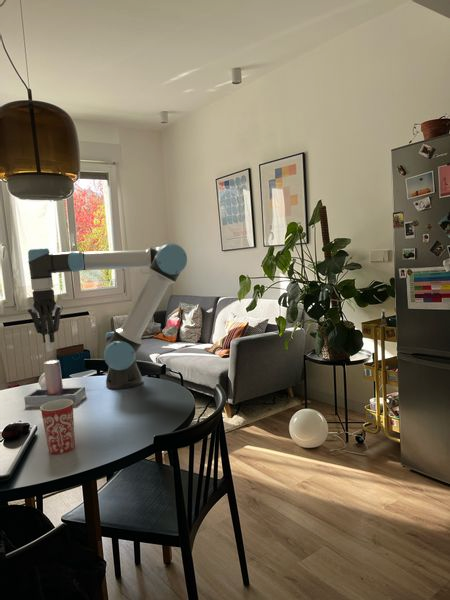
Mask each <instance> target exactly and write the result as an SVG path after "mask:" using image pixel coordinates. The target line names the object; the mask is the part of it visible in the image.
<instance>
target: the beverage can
mask: <svg viewBox="0 0 450 600" xmlns="http://www.w3.org/2000/svg"><path fill="white" fill-rule="evenodd" d="M43 373H44V374H45V382H46V390H47V395H64V393H63V388H64V385H63V378H62V369H61V363H60V360H59V359H51V360H47V361H44V362H43Z"/></svg>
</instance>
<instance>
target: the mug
mask: <svg viewBox="0 0 450 600" xmlns="http://www.w3.org/2000/svg"><path fill="white" fill-rule="evenodd" d="M39 410H40V412H41V417H42V422H43V427H44V433H45V439H46V443H47V444H46V445H47V449H48V452H49V453H50V454H52V455H61V454H65V453H68V452H69V453H70V452H71V451H72V450H73V449H75V446H76V445H75V444H76V441H75V439H76V438H75V423H74V406H73V401H72V400H69V399H61V400H55V401H51V402H47V403H45V404H43V405H42V406H41V407H39Z"/></svg>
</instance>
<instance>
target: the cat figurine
mask: <svg viewBox="0 0 450 600" xmlns="http://www.w3.org/2000/svg"><path fill="white" fill-rule="evenodd" d="M38 384H39V387H40V389H46V382H45V374H44V372H43V373H42V374H41V375H40V376H39V379H38Z"/></svg>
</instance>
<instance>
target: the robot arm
mask: <svg viewBox="0 0 450 600" xmlns="http://www.w3.org/2000/svg"><path fill="white" fill-rule="evenodd" d="M27 254H28V255H27V257H28V258H27V259H28V261H27V263H28V268H29V274H30V284H31V290H32V300H33V304H32V305H33V306H32V307H31V308H29V309H28V310H27V313H28V314H30V316H31V319H32V321H33V325H34V327H35V331H36V333H37V334H41V335H42V342H43V343H44V344H45V348H46V352H48V353H49V352H53V351H54V342H55V333H56V332H57V333H58V332H59V331H60V330H59V327H60V321H61V312H62V311H63V309H64V308H63V306H59V305H58V304H57V302H56V301H55V300H56V299H55V292H54V291H55V290H54V289H53V288H54V283H53V274H56V273H71V272H73V273H75V272H81V271H96V270H97V271H99V270H102V271H103V270H125V269H126V270H129V269H148V271H149V276H148V277H147V279H146V281H145V283H144V285H143V287H142V288H141V290H140V292H139V294H138V296H137V298H136V300H135V301H134V303H133V305H132V307H131V309H130V310H129V312H128V314H127V316H126V318H125V320H124V321H123V323H122V325H121V327H119V328H116V329H115V330H114V331H108V332H106V333H105V339H104V340H105V345H106V346H105V348H104V349H103V359H104V362H105V363H106V364H107V366H108V370H107V375H106V378H105V379H106V380H105V385H106V386H105V387H106V388H107V389H110V390H112V389H113V390H123V389H129V388H133V387H136V386H139V385H141V384H142V383H143V376H142V374H141V371H140V369H139V367H138V364H137V356H136V355H137V354H138V352H139V349H140V347H142V344H143V341H142V336H143V334H144V332H145V330H146V329H147V327H148V325H149V323H150V321H151V320H152V317H153V316H154V314H155V313H156V310H157V309H158V307H159V305H160V303H161V302H162V299H163V298H164V295H165V294H166V292H167V291H168V288H169V286H170V285H171V284H175V283H176V282H177V279H178V277H179V276H180V274H181V273H182V271H183V270H185V268H186V266H187V263H188V257H187V253H186V250H185V249H184V248H183V247H182V246H180V244H176V243H172V242H170V243H166V244H163V245H160V246H156V247H155V246H152V247H151V246H150V247H148V248H146V249H139V250H138V249H137V250H135V249H134V250H131V249H130V250H106V251H105V250H103V251H75V250H73V251H65V252H51V251H50V249H49V248H48V247H46V248H31V249H29V250H28V252H27Z"/></svg>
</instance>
